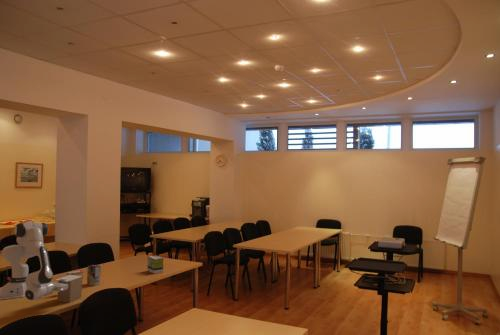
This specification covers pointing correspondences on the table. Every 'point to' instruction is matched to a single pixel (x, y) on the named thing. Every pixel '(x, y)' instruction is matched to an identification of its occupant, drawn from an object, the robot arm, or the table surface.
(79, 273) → the candy bar box
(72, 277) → the flap
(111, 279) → the table surface
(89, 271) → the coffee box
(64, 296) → the carton
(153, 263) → the tea box
